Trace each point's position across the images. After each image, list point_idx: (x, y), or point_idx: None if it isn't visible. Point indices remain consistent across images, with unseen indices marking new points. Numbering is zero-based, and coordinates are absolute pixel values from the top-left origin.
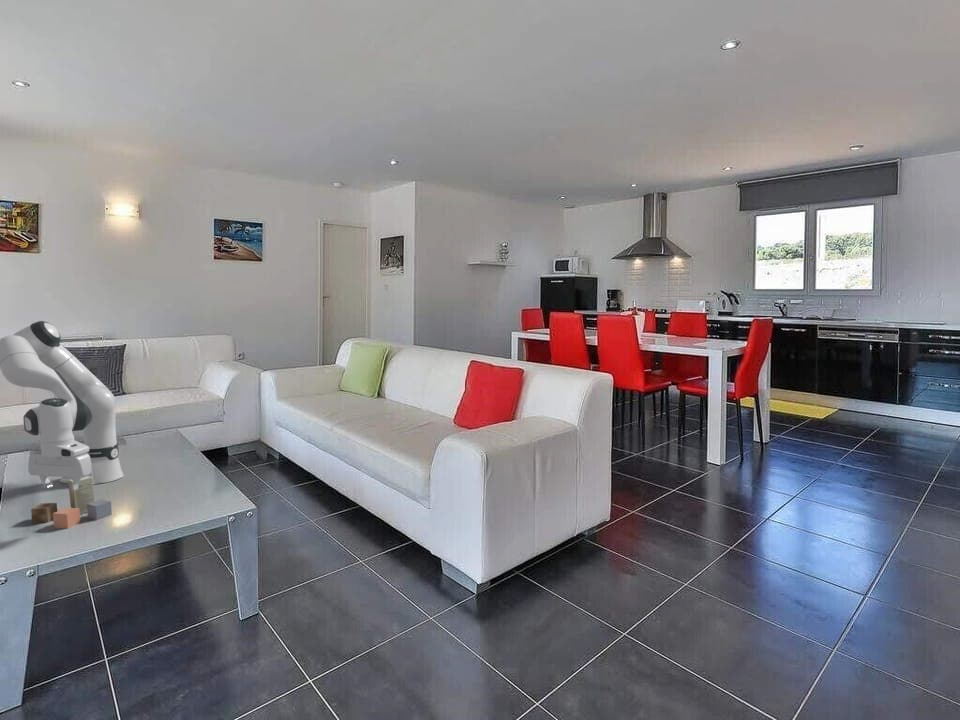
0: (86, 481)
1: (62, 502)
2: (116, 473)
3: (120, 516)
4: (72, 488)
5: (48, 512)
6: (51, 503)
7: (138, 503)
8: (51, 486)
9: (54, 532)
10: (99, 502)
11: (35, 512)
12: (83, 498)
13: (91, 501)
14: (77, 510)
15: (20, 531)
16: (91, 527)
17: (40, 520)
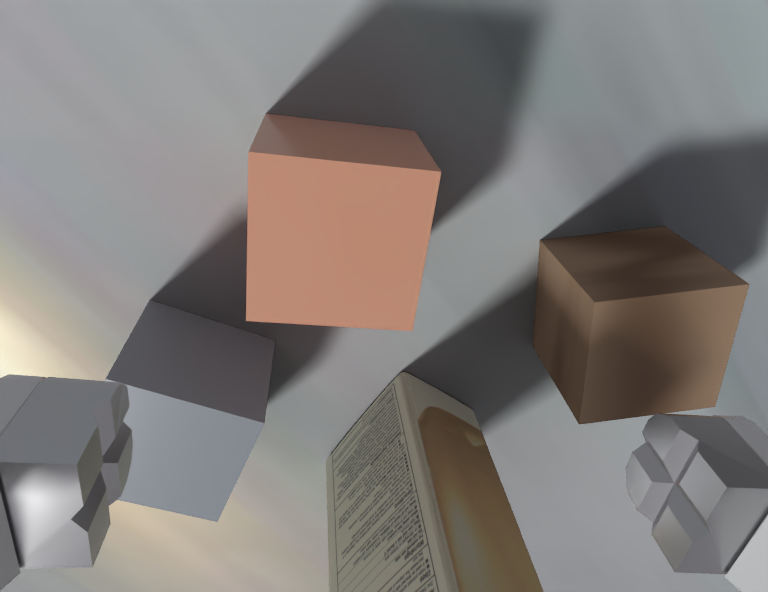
0: None
1: (636, 533)
2: None
3: (9, 374)
4: (24, 397)
5: (572, 292)
6: (620, 410)
7: (104, 566)
8: (639, 480)
9: (326, 7)
10: (165, 461)
11: (686, 271)
12: (376, 506)
13: (339, 505)
14: (247, 290)
15: (675, 35)
16: (45, 140)
17: (608, 240)
